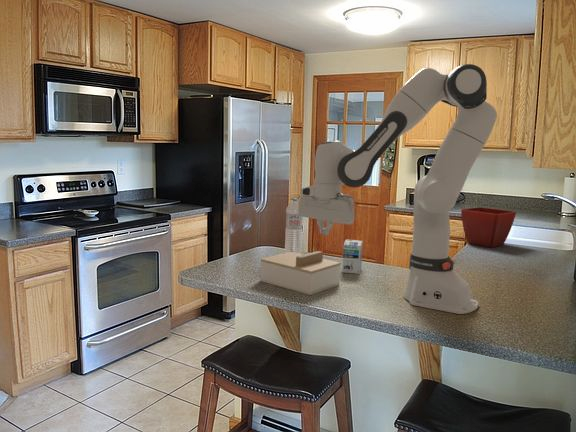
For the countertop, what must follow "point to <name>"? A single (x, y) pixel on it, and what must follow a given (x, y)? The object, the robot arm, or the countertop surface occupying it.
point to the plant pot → (487, 225)
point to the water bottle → (293, 228)
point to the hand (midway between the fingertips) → (324, 233)
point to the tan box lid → (302, 261)
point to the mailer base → (300, 278)
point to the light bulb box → (352, 256)
